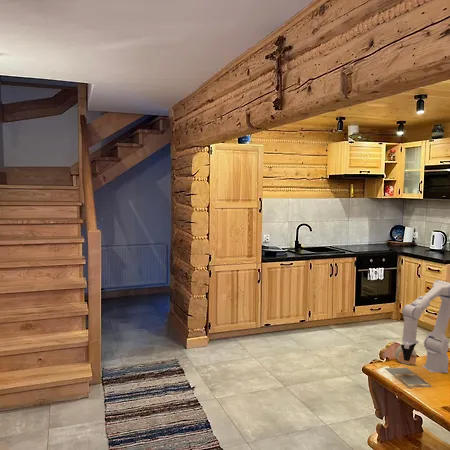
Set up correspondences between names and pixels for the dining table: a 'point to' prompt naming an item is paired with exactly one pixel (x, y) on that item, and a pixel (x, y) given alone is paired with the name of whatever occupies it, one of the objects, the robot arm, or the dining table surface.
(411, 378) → the mat
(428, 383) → the frame
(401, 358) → the reddish brown block
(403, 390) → the dining table surface
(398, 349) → the donut
